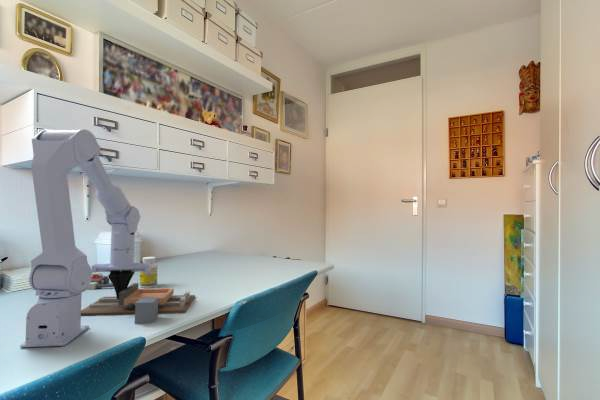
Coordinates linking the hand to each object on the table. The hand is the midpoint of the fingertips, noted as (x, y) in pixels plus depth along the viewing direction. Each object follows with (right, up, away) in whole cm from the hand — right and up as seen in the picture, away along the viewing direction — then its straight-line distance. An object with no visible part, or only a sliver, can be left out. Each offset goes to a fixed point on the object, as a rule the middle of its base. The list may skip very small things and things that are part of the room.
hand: (121, 297), depth 85 cm
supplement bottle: (-3, -3, +21) cm, 21 cm away
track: (+5, -2, +1) cm, 6 cm away
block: (+12, -2, -10) cm, 16 cm away
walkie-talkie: (-20, -3, +19) cm, 28 cm away
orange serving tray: (+8, -2, +1) cm, 8 cm away
